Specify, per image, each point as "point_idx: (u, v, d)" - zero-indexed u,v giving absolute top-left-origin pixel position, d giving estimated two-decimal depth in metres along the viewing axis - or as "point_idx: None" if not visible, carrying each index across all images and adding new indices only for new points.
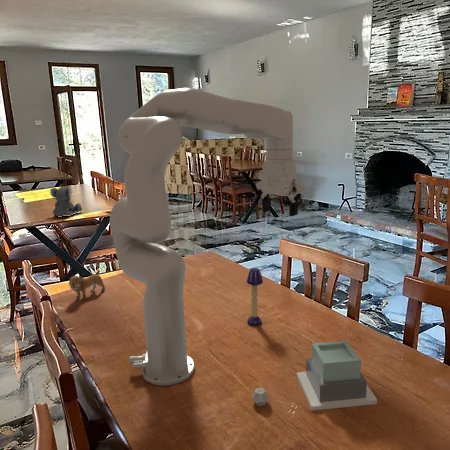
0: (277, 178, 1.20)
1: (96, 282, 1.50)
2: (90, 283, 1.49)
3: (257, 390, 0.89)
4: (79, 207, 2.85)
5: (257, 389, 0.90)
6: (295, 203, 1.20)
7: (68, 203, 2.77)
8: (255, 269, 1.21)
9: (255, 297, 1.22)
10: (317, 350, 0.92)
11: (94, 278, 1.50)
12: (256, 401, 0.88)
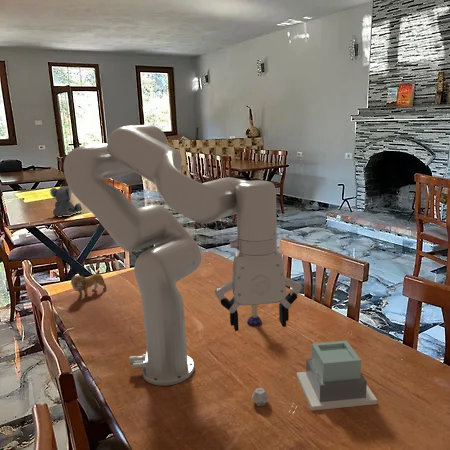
0: (268, 279, 0.80)
1: (98, 281, 1.51)
2: (92, 282, 1.49)
3: (257, 390, 0.89)
4: (79, 207, 2.85)
5: (257, 389, 0.90)
6: None
7: (68, 203, 2.77)
8: None
9: None
10: (317, 350, 0.92)
11: (96, 278, 1.50)
12: (256, 401, 0.88)
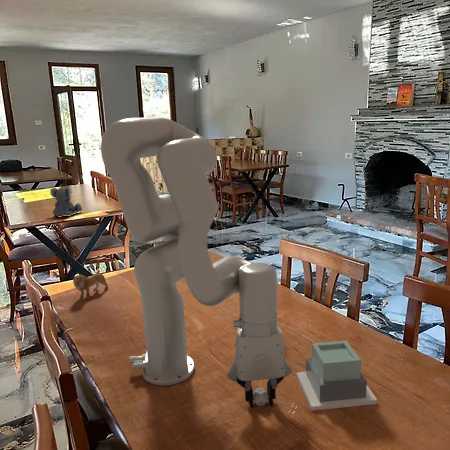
0: (268, 358, 0.84)
1: (99, 281, 1.51)
2: (94, 282, 1.50)
3: (257, 390, 0.89)
4: (79, 207, 2.85)
5: (257, 389, 0.90)
6: None
7: (68, 203, 2.77)
8: None
9: None
10: (317, 350, 0.92)
11: (98, 277, 1.51)
12: (256, 401, 0.88)
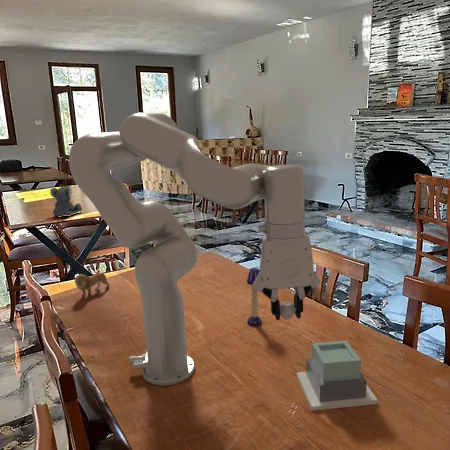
0: (296, 263, 0.80)
1: (101, 280, 1.52)
2: (95, 281, 1.50)
3: (283, 303, 0.85)
4: (79, 207, 2.85)
5: (283, 302, 0.86)
6: (302, 299, 0.85)
7: (68, 203, 2.77)
8: (255, 269, 1.21)
9: (255, 297, 1.22)
10: (317, 350, 0.92)
11: (99, 276, 1.51)
12: (283, 313, 0.84)
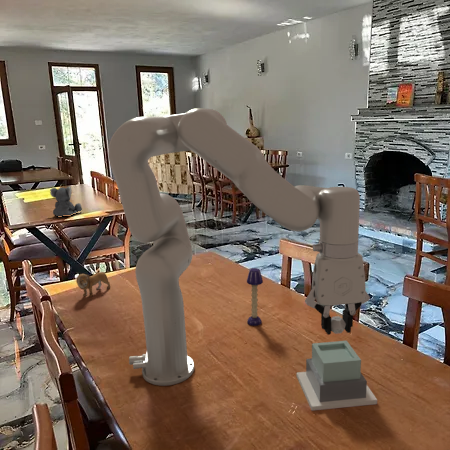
0: (349, 281, 0.84)
1: (102, 280, 1.52)
2: (96, 281, 1.51)
3: (334, 318, 0.89)
4: (79, 207, 2.85)
5: (334, 317, 0.89)
6: None
7: (68, 203, 2.77)
8: (255, 269, 1.21)
9: (255, 297, 1.22)
10: (317, 350, 0.92)
11: (101, 276, 1.52)
12: (334, 328, 0.88)
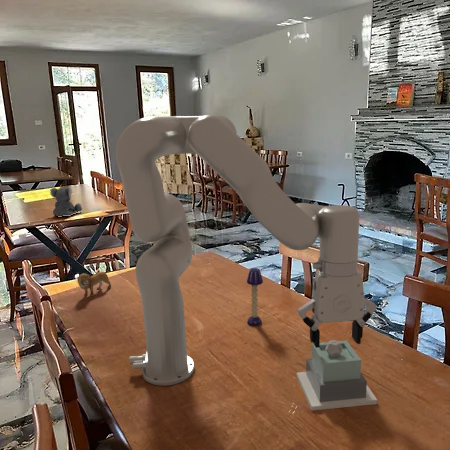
0: (349, 299, 0.85)
1: (103, 279, 1.53)
2: (97, 280, 1.51)
3: (331, 342, 0.91)
4: (79, 207, 2.85)
5: (331, 341, 0.91)
6: None
7: (68, 203, 2.77)
8: (255, 269, 1.21)
9: (255, 297, 1.22)
10: (317, 350, 0.92)
11: (101, 276, 1.52)
12: (331, 352, 0.89)
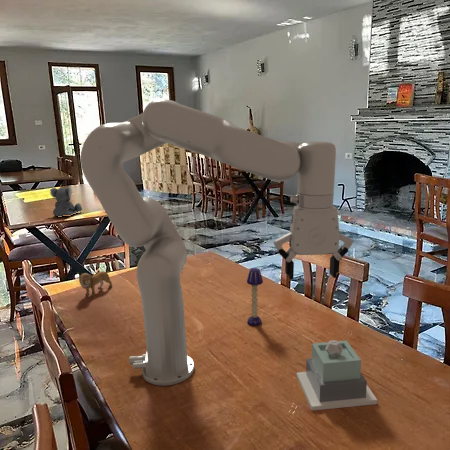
0: (324, 232, 0.88)
1: (104, 279, 1.53)
2: (99, 280, 1.51)
3: (331, 342, 0.91)
4: (79, 207, 2.85)
5: (331, 341, 0.91)
6: None
7: (68, 203, 2.77)
8: (255, 269, 1.21)
9: (255, 297, 1.22)
10: (317, 350, 0.92)
11: (103, 275, 1.53)
12: (331, 352, 0.89)
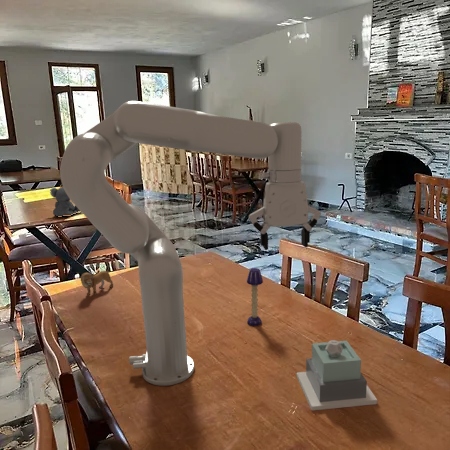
0: (293, 204, 0.97)
1: (105, 278, 1.54)
2: (100, 279, 1.52)
3: (331, 342, 0.91)
4: None
5: (331, 341, 0.91)
6: None
7: (68, 203, 2.77)
8: (255, 269, 1.21)
9: (255, 297, 1.22)
10: (317, 350, 0.92)
11: (104, 275, 1.53)
12: (331, 352, 0.89)
